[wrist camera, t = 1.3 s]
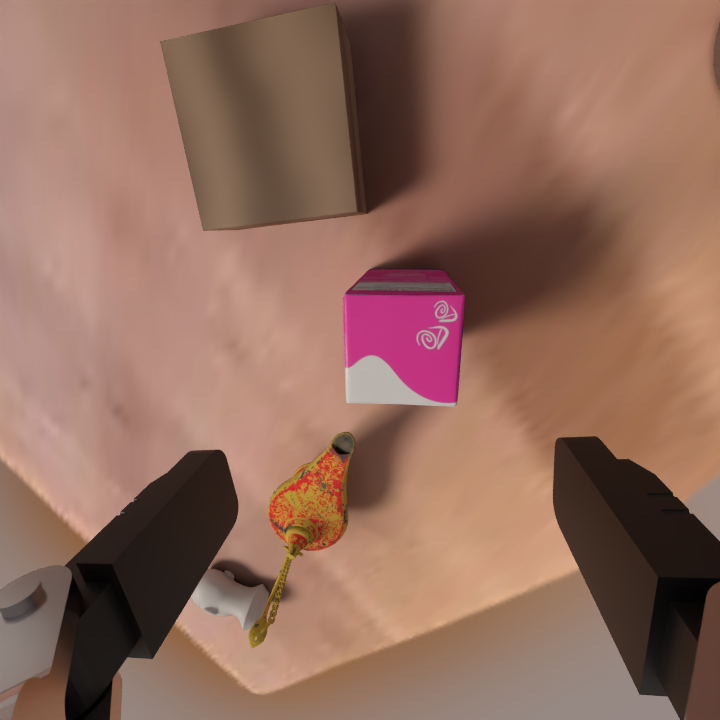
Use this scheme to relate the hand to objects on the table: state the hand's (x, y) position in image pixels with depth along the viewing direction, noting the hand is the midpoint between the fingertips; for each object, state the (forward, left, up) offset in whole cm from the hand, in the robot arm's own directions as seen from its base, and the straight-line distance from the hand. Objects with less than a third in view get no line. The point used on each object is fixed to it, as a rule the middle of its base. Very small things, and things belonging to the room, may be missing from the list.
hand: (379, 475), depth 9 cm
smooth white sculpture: (+21, +29, -21) cm, 41 cm away
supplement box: (0, 0, -21) cm, 21 cm away
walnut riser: (+7, -12, -21) cm, 25 cm away
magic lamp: (+9, +15, -21) cm, 27 cm away
